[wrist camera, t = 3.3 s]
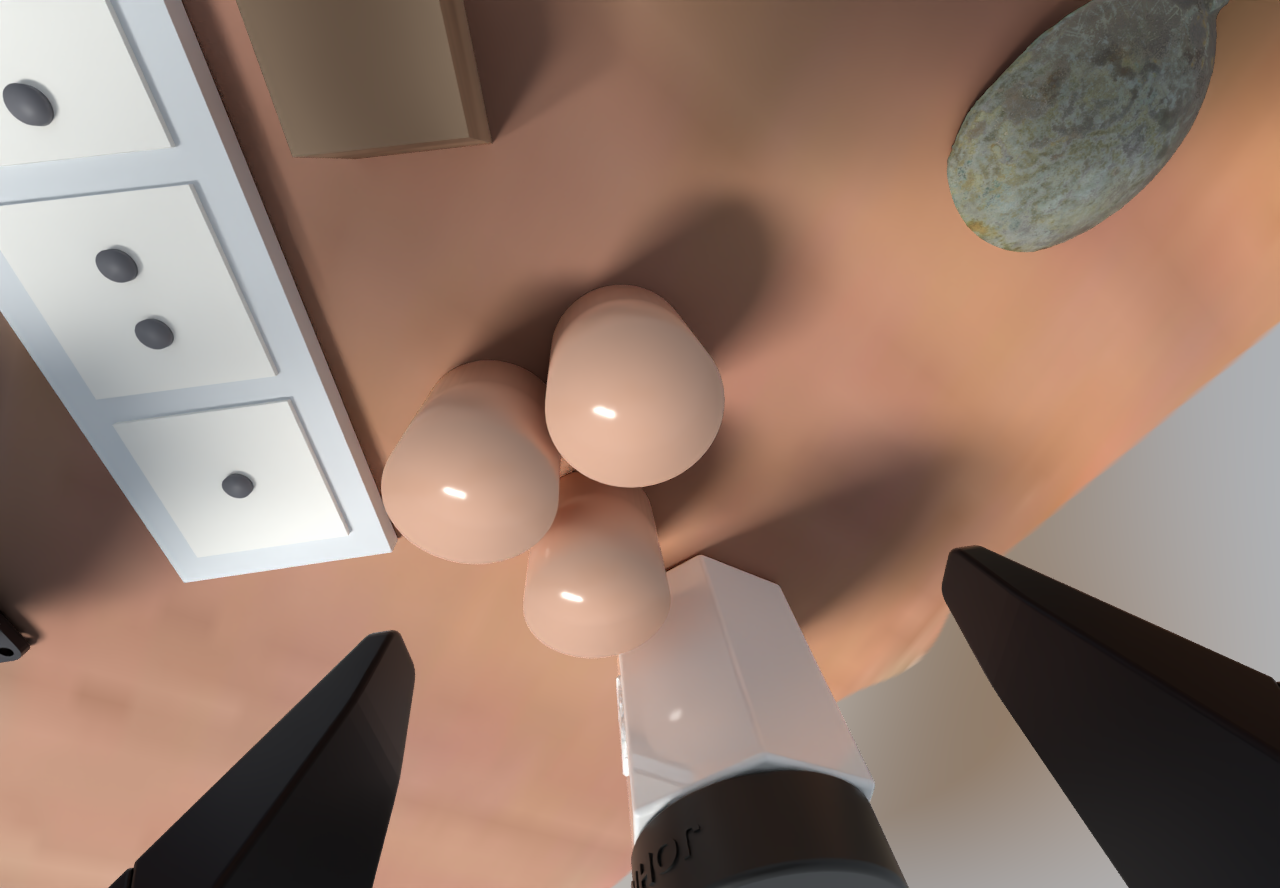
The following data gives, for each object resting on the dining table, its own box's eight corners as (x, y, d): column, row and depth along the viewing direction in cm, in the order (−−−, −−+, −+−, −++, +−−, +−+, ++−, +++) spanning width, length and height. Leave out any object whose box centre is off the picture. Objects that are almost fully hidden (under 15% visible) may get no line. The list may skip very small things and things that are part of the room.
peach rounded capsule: (446, 489, 21) (411, 574, 17) (407, 369, 19) (354, 433, 14) (572, 471, 21) (571, 551, 17) (549, 351, 19) (541, 407, 14)
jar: (607, 559, 23) (633, 882, 13) (786, 544, 24) (950, 840, 14) (614, 693, 28) (638, 1022, 17) (766, 678, 28) (880, 983, 18)
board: (197, 568, 21) (177, 590, 20) (-287, -176, 11) (-375, -211, 10) (397, 539, 22) (388, 558, 21) (98, -207, 12) (51, -243, 11)
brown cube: (356, 158, 16) (293, 157, 12) (301, -17, 14) (207, -78, 10) (492, 143, 16) (469, 136, 12) (457, -32, 14) (417, -98, 10)
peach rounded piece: (545, 573, 24) (538, 668, 19) (522, 478, 21) (508, 560, 17) (657, 556, 24) (675, 646, 19) (646, 460, 21) (665, 537, 17)
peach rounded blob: (561, 426, 20) (559, 497, 16) (539, 292, 18) (529, 332, 13) (691, 410, 20) (725, 475, 16) (686, 277, 18) (723, 310, 14)
